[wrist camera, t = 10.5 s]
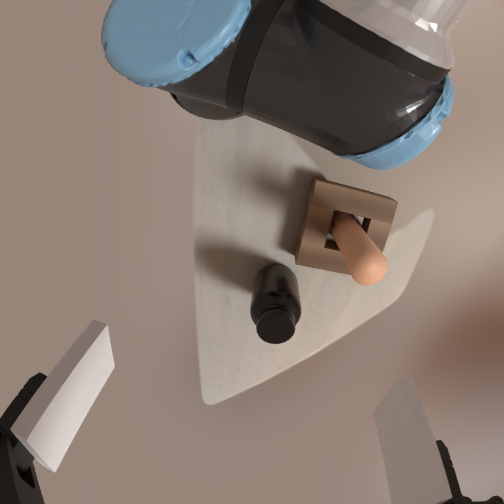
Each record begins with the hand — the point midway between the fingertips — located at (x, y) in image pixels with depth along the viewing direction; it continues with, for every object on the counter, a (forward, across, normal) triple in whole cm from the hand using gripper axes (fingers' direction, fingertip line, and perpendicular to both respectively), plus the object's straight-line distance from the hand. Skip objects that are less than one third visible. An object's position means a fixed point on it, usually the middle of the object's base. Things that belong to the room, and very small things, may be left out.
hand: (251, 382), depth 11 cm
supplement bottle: (+32, +3, -12) cm, 34 cm away
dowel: (+32, +11, -1) cm, 34 cm away
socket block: (+32, +11, -1) cm, 34 cm away
